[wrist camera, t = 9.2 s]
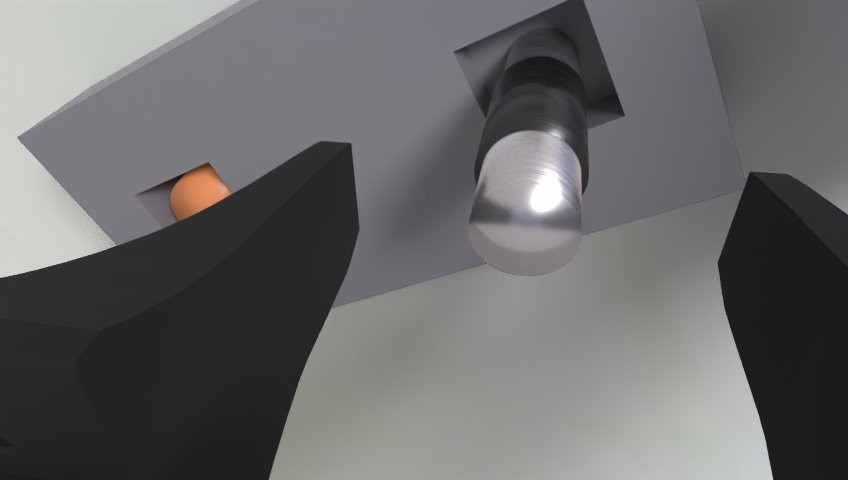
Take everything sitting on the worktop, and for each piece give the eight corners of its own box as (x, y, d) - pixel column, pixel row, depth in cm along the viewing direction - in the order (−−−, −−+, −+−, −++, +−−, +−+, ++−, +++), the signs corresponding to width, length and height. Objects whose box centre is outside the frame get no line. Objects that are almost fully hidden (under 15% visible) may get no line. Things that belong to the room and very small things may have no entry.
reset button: (252, 120, 23) (214, 165, 20) (295, 181, 24) (264, 230, 21) (196, 146, 24) (154, 191, 21) (240, 203, 25) (205, 252, 22)
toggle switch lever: (603, 58, 17) (619, 231, 11) (545, 117, 18) (530, 301, 12) (539, 4, 16) (516, 152, 10) (484, 68, 18) (435, 234, 11)
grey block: (622, -220, 15) (639, -217, 12) (717, 122, 20) (746, 188, 17) (89, 87, 23) (16, 137, 20) (247, 279, 28) (208, 343, 25)
